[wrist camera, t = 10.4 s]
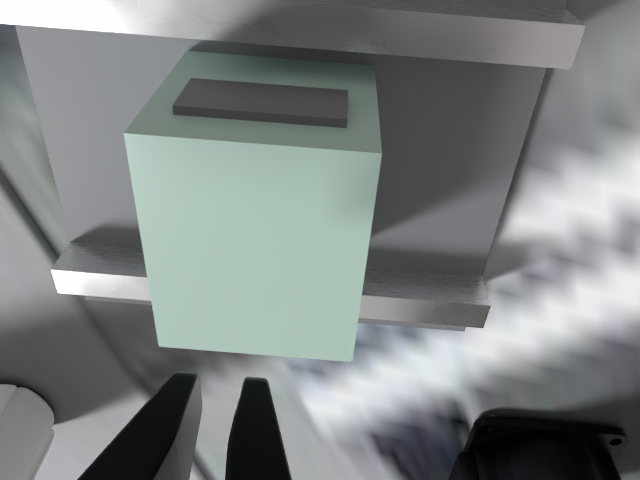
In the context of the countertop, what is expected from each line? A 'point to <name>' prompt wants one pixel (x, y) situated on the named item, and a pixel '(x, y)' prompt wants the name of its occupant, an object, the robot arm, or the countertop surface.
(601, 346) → the countertop surface
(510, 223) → the countertop surface
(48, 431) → the photo printer
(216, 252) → the green module
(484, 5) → the mounting board
